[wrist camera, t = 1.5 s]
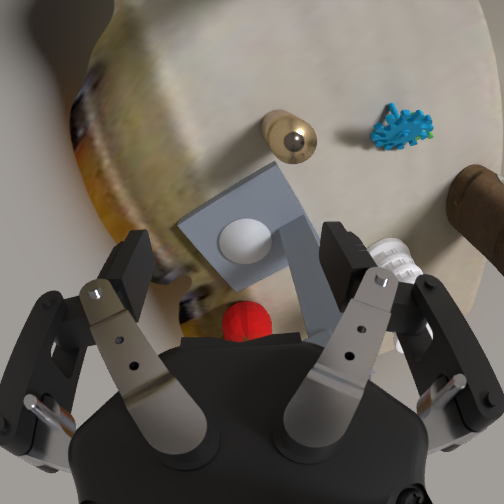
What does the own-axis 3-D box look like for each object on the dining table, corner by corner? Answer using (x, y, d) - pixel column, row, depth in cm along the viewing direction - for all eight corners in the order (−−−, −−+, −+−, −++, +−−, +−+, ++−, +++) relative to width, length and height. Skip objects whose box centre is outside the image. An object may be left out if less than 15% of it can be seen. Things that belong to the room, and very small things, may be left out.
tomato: (239, 285, 51) (241, 319, 44) (281, 307, 55) (288, 340, 48) (212, 314, 55) (210, 347, 48) (252, 332, 59) (255, 364, 52)
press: (179, 219, 43) (124, 460, 14) (274, 160, 39) (381, 409, 10) (260, 312, 55) (281, 491, 26) (338, 273, 51) (408, 453, 22)
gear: (361, 150, 37) (398, 112, 27) (349, 118, 38) (380, 77, 28) (414, 156, 39) (451, 126, 29) (402, 126, 40) (435, 94, 30)
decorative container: (391, 226, 46) (445, 292, 31) (415, 259, 51) (461, 321, 36) (345, 267, 50) (382, 342, 36) (374, 294, 55) (408, 361, 40)
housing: (254, 121, 35) (261, 133, 27) (285, 103, 34) (303, 110, 26) (272, 150, 38) (285, 172, 29) (303, 133, 36) (325, 150, 28)
